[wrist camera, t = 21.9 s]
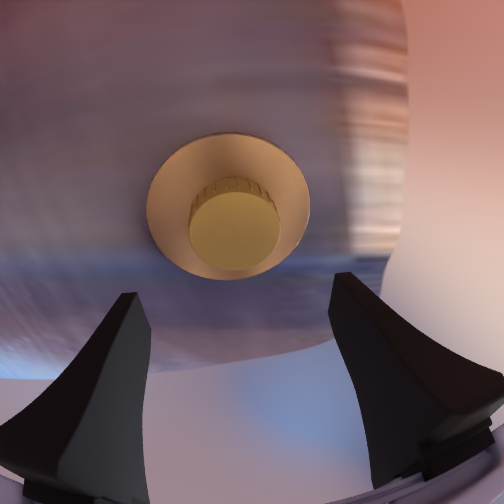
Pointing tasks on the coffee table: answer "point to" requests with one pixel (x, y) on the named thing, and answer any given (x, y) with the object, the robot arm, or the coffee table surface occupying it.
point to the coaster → (217, 168)
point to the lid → (233, 224)
